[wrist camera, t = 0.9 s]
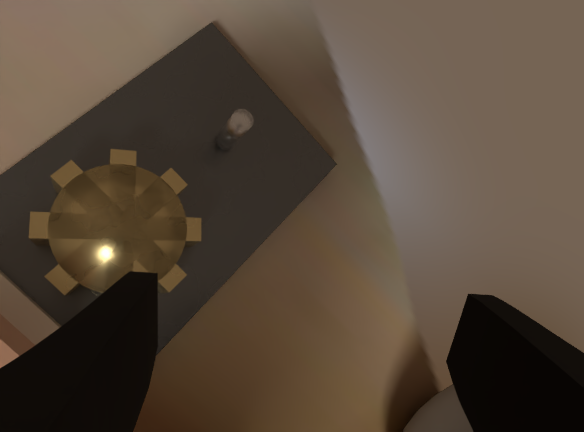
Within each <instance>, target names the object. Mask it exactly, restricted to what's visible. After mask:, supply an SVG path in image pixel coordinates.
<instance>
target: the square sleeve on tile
mask: <svg viewBox="0 0 584 432" xmlns="http://www.w3.org/2000/svg"><path fill="white" fill-rule="evenodd" d="M60 327H61V325H60V324H59V323H58V322H56V321H55V320H54V319H53V318H52V317H51V316H50V315H49V314H48V313H47V312H45V311H44V310H43V309H42V308H41V307H40V306H39V305H38V304H37V303H36V302H35V301H33V300H32V299H31V298H30V297H29V296H28V295H27V294H26V293H25V292H24V291H23V290H21V289H20V288H19V287H18V286H17V285H16V284H15V283H14V282H13V281H12V280H10V279H9V278H8V277H7V276H6V275H5V274H4V273H3V272H2V271H1V270H0V368H1V367H3V366H5V365H6V364H8V363H9V362H11V361H12V360H14V359H16V358H17V357H19V356H20V355H22V354H23V353H25V352H26V351H28V350H29V349H31V348H32V347H33V346H35V345H36V344H38V343H39V342H40V341H42V340H43V339H45V338H46V337H47V336H49V335H50V334H52V333H53V332H54V331H56V330H57V329H58V328H60Z"/></svg>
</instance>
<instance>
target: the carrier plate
mask: <svg viewBox="0 0 584 432" xmlns="http://www.w3.org/2000/svg"><path fill="white" fill-rule="evenodd" d="M335 166H336V163H335V162H334V160H333V159H332V158H331V157H330V156H329V155H328V154H327V152H326V151H325V150H324V149H323V148H322V147H321V146H320V145H319V143H318V142H317V141H316V140H315V139H314V138H313V137H312V135H311V134H310V133H309V132H308V131H307V130H306V129H305V128H304V126H303V125H302V124H301V123H300V122H299V121H298V120H297V119H296V117H295V116H294V115H293V114H292V113H291V112H290V111H289V109H288V108H287V107H286V106H285V105H284V104H283V103H282V102H281V100H280V99H279V98H278V97H277V96H276V95H275V94H274V92H273V91H272V90H271V89H270V88H269V87H268V86H267V85H266V83H265V82H264V81H263V80H262V79H261V78H260V77H259V76H258V74H257V73H256V72H255V71H254V70H253V69H252V68H251V66H250V65H249V64H248V63H247V62H246V61H245V60H244V59H243V57H242V56H241V55H240V54H239V53H238V52H237V51H236V49H235V48H234V47H233V46H232V45H231V44H230V43H229V42H228V40H227V39H226V38H225V37H224V36H223V35H222V34H221V33H220V31H219V30H218V29H217V28H216V27H215V26H214V25H213V23H212V22H211V23H210V24H209V25H207V26H206V27H205V28H203V29H202V30H200V31H199V32H198V33H196V34H195V35H194V36H192V37H191V38H189V39H188V40H187V41H185V42H184V43H182V44H181V45H180V46H178V47H177V48H176V49H174V50H173V51H171V52H170V53H169V54H167V55H166V56H165V57H163V58H162V59H160V60H159V61H158V62H156V63H155V64H154V65H152V66H151V67H149V68H148V69H147V70H145V71H144V72H142V73H141V74H140V75H138V76H137V77H136V78H134V79H133V80H131V81H130V82H129V83H127V84H126V85H125V86H123V87H122V88H120V89H119V90H118V91H116V92H115V93H113V94H112V95H111V96H109V97H108V98H107V99H105V100H104V101H102V102H101V103H100V104H98V105H97V106H96V107H94V108H93V109H91V110H90V111H89V112H87V113H86V114H84V115H83V116H82V117H80V118H79V119H78V120H76V121H75V122H73V123H72V124H71V125H69V126H68V127H67V128H65V129H64V130H62V131H61V132H60V133H58V134H57V135H56V136H54V137H53V138H51V139H50V140H49V141H47V142H46V143H44V144H43V145H42V146H40V147H39V148H38V149H36V150H35V151H33V152H32V153H31V154H29V155H28V156H27V157H25V158H24V159H22V160H21V161H20V162H18V163H17V164H15V165H14V166H13V167H11V168H10V169H9V170H7V171H6V172H4V173H3V174H2V175H0V270H1V271H2V272H3V273H4V274H5V275H6V276H7V277H8V278H9V279H10V280H12V281H13V282H14V283H15V284H16V285H17V286H18V287H19V288H20V289H21V290H23V291H24V292H25V293H26V294H27V295H28V296H29V297H30V298H31V299H32V300H33V301H35V302H36V303H37V304H38V305H39V306H40V307H41V308H42V309H43V310H44V311H45V312H47V313H48V314H49V315H50V316H51V317H52V318H53V319H54V320H55V321H56V322H58V323H59V324H60V325H61V326H63V325H64V324H65V323H66V322H68V321H69V320H70V319H71V318H73V317H74V316H75V315H77V314H78V313H79V312H80V311H82V310H83V309H84V308H85V307H87V306H88V305H89V304H90V303H91V302H93V301H94V300H95V299H96V298H98V297H99V296H100V295H101V294H102V293H103V292H105V291H106V290H107V289H108V288H109V287H111V286H112V285H113V284H114V283H115V282H117V281H118V280H119V279H120V278H122V277H123V276H124V275H125V274H127V273H128V272H129V271H135V272H150V273H158V348H157V353H156V355H157V354H158V353H159V352H160V351H161V350H162V349H163V348H164V347H165V346H166V344H167V343H168V342H169V341H170V340H171V339H172V338H173V337H174V336H175V335H176V334H177V333H178V332H179V331H180V330H181V329H182V328H183V326H184V325H185V324H186V323H187V322H188V321H189V320H190V319H191V318H192V317H193V316H194V315H195V314H196V313H197V312H198V311H199V310H200V308H201V307H202V306H203V305H204V304H205V303H206V302H207V301H208V300H209V299H210V298H211V297H212V296H213V295H214V294H215V293H216V292H217V290H218V289H219V288H220V287H221V286H222V285H223V284H224V283H225V282H226V281H227V280H228V279H229V278H230V277H231V276H232V275H233V274H234V272H235V271H236V270H237V269H238V268H239V267H240V266H241V265H242V264H243V263H244V262H245V261H246V260H247V259H248V258H249V257H250V256H251V254H252V253H253V252H254V251H255V250H256V249H257V248H258V247H259V246H260V245H261V244H262V243H263V242H264V241H265V240H266V239H267V238H268V236H269V235H270V234H271V233H272V232H273V231H274V230H275V229H276V228H277V227H278V226H279V225H280V224H281V223H282V222H283V221H284V220H285V218H286V217H287V216H288V215H289V214H290V213H291V212H292V211H293V210H294V209H295V208H296V207H297V206H298V205H299V204H300V203H301V202H302V200H303V199H304V198H305V197H306V196H307V195H308V194H309V193H310V192H311V191H312V190H313V189H314V188H315V187H316V186H317V185H318V184H319V182H320V181H321V180H322V179H323V178H324V177H325V176H326V175H327V174H328V173H329V172H330V171H331V170H332V169H333V168H334V167H335Z"/></svg>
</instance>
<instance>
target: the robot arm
mask: <svg viewBox="0 0 584 432" xmlns="http://www.w3.org/2000/svg"><path fill="white" fill-rule="evenodd" d="M157 348H158V273H150V272H135V271H129V272H128V273H127V274H125V275H124V276H123V277H122V278H120V279H119V280H118V281H117V282H115V283H114V284H113V285H112V286H111V287H109V288H108V289H107V290H106V291H105V292H103V293H102V294H101V295H100V296H99V297H98V298H96V299H95V300H94V301H93V302H91V303H90V304H89V305H88V306H87V307H85V308H84V309H83V310H82V311H80V312H79V313H78V314H77V315H75V316H74V317H73V318H71V319H70V320H69V321H68V322H66V323H65V324H64V325H63V326H61V327H60V328H58V329H57V330H56V331H54V332H53V333H52V334H50V335H49V336H47V337H46V338H45V339H43V340H42V341H40V342H39V343H38V344H36V345H35V346H33V347H32V348H31V349H29V350H28V351H26V352H25V353H23V354H22V355H20V356H19V357H17V358H16V359H14V360H12V361H11V362H9V363H8V364H6V365H5V366H3V367H1V368H0V432H133V430H134V427H135V425H136V422H137V419H138V416H139V413H140V411H141V408H142V405H143V402H144V399H145V396H146V394H147V391H148V388H149V384H150V379H151V375H152V371H153V366H154V362H155V357H156V353H157ZM446 362H447V365H448V369H449V372H450V375H451V378H452V382H453V385H454V388H455V391H456V394H457V397H458V399H459V402H460V404H461V406H462V409H463V411H464V413H465V415H466V417H467V419H468V421H469V423H470V425H471V428H472V430H473V432H584V353H583V352H581V351H580V350H578V349H577V348H575V347H574V346H572V345H571V344H569V343H567V342H566V341H564V340H563V339H561V338H560V337H558V336H557V335H555V334H554V333H552V332H551V331H549V330H548V329H546V328H545V327H543V326H542V325H540V324H539V323H537V322H536V321H534V320H532V319H531V318H530V317H528V316H526V315H525V314H523V313H522V312H520V311H519V310H517V309H516V308H514V307H512V306H511V305H509V304H507V303H506V302H504V301H502V300H500V299H499V298H497V297H495V296H492V295H478V294H468V296H467V299H466V302H465V305H464V308H463V312H462V315H461V318H460V321H459V324H458V327H457V330H456V333H455V336H454V339H453V342H452V345H451V348H450V351H449V354H448V357H447V360H446Z"/></svg>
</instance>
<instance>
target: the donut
mask: <svg viewBox="0 0 584 432" xmlns="http://www.w3.org/2000/svg"><path fill="white" fill-rule="evenodd" d="M403 432H473V430H472V428H471V425H470V423H469V421H468V419H467V417H466V415H465V413H464V411H463V409H462V406H461V404H460V402H459V399H458V397H457V394H456V391H455V388H454V385H451V386H449V387H448V388H446V389H444V390H443V391H441V392H439V393H438V394H436V395H435V396H433V397H432V398H431V399H430V400H429V401H428V402H427V403H425V404H424V405H423V406H422V407H421V408H420V409H419V410H417V412H416V413H415V414H414V416H413V417H412V418H411V420H410V421H409V422H408V424H407V425H406V426H405V428H404V430H403Z"/></svg>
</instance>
